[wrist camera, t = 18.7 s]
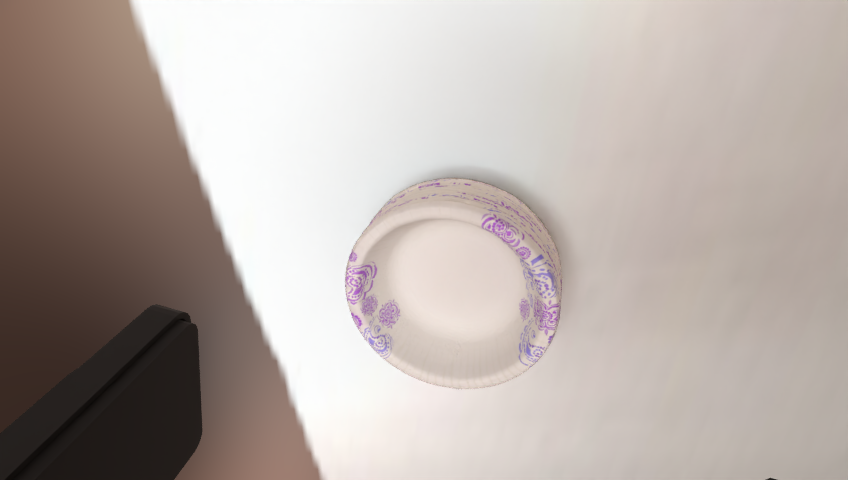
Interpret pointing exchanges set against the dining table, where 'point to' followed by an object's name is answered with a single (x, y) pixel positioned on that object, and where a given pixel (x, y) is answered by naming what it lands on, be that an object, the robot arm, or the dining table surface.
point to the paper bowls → (456, 284)
